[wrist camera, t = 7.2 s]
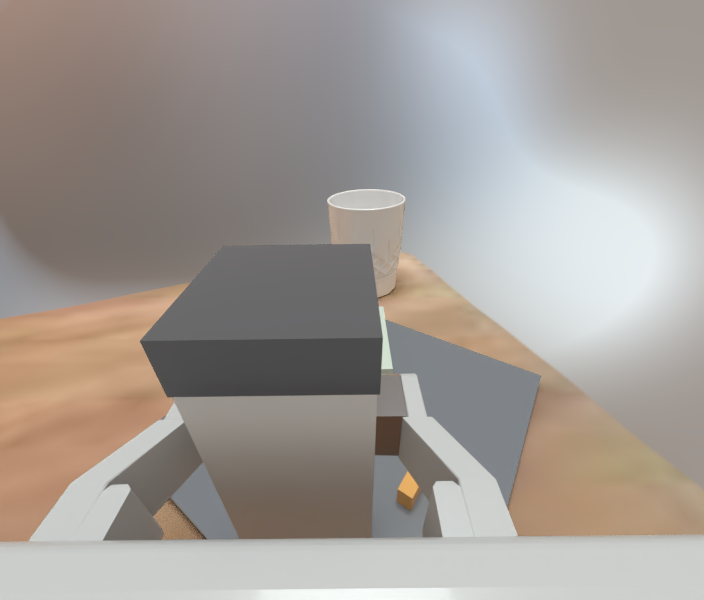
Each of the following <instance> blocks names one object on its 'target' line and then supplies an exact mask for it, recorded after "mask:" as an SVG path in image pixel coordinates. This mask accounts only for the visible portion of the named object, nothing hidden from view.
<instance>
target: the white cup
mask: <svg viewBox="0 0 704 600" xmlns="http://www.w3.org/2000/svg"><path fill="white" fill-rule="evenodd" d="M405 200H406V199H405V197H404V196H403V195H402V194H399V193H397V192H393V191H387V190H375V189H362V190H352V191H345V192H341V193H337V194H334V195H332V196H331V197H329V198H328V200H327V203H328V212H329V221H330V229H331V239H332V244H370V246H371V253H372V261H373V268H374V275H375V283H376V290H377V298H379V297H381V296H384V295H387V294H389V293H390V292H391V291H392V290H393V289H394V288H395V283H396V272H397V266H398V263H399V256H400V249H401V239H402V229H403V219H404V210H405Z"/></svg>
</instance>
